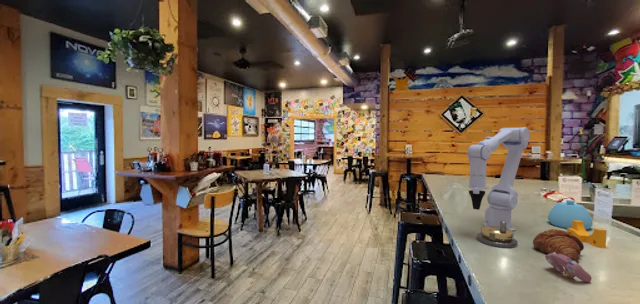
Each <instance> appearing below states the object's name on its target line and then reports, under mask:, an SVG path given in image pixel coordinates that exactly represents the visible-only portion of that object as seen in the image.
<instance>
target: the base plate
mask: <svg viewBox="0 0 640 304" xmlns="http://www.w3.org/2000/svg"><path fill="white" fill-rule="evenodd" d="M476 240H477V241H478V242H480V243H481V244H484V245H485V246H490V247H494V248H501V249H513V248H517V247H518V243H519V242H518V240H517V239H515V238H514V239H513V241H512V242H496V241H492V240H488V239H486V238H484V237H482V236H481V232H479V233H477V234H476Z"/></svg>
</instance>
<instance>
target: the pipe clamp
mask: <svg viewBox="0 0 640 304" xmlns="http://www.w3.org/2000/svg"><path fill="white" fill-rule="evenodd" d="M566 232H568V233H570V234H571V235H574V236H576V237H577V238H578V239H579V240H580V241H581V242H582V243H584V242H585V243H587V244H589V245H592V246H594V247H596V248H600V249H601V248H606V243H607V232H608V231H607V229H604V228H599V227H598V228H597V227H596V228H594V229H593V232H592V233H591V234H589V232H588V231H587V230H585V228H584V224H583V222H582V221H579V220H572V228H567V229H566Z"/></svg>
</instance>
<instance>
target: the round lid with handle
mask: <svg viewBox="0 0 640 304" xmlns="http://www.w3.org/2000/svg"><path fill="white" fill-rule="evenodd" d="M506 225H507V222H504V221H500V227H499V226H490V225H488V226H484V225H482V226H481V227H480V233H481V236H482V237H484V238H486V239H488V240H492V241H496V242H512V241H513V239H515V238H514V236H515V233H514V231H512V230H510V229H507V228H506Z"/></svg>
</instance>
